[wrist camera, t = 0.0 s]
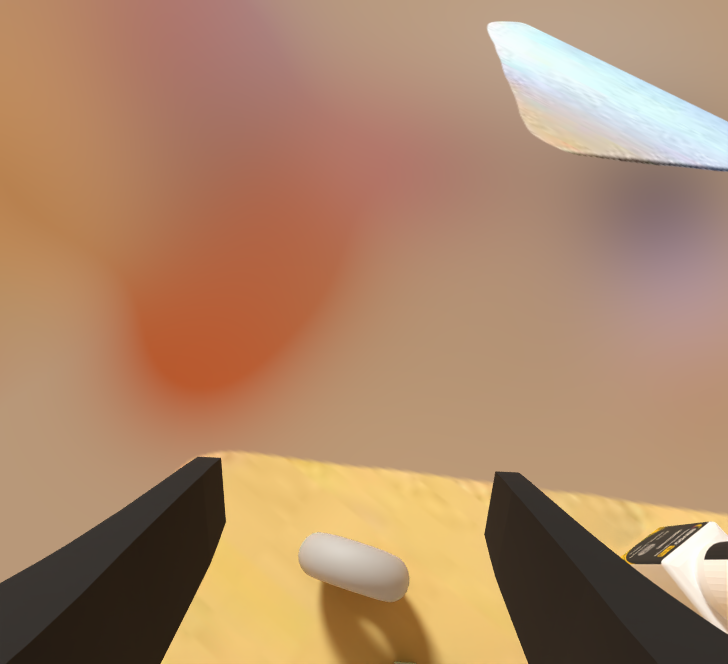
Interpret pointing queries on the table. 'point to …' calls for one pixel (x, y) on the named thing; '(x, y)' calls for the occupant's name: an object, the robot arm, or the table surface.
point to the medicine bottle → (688, 567)
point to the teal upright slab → (403, 663)
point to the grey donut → (354, 566)
